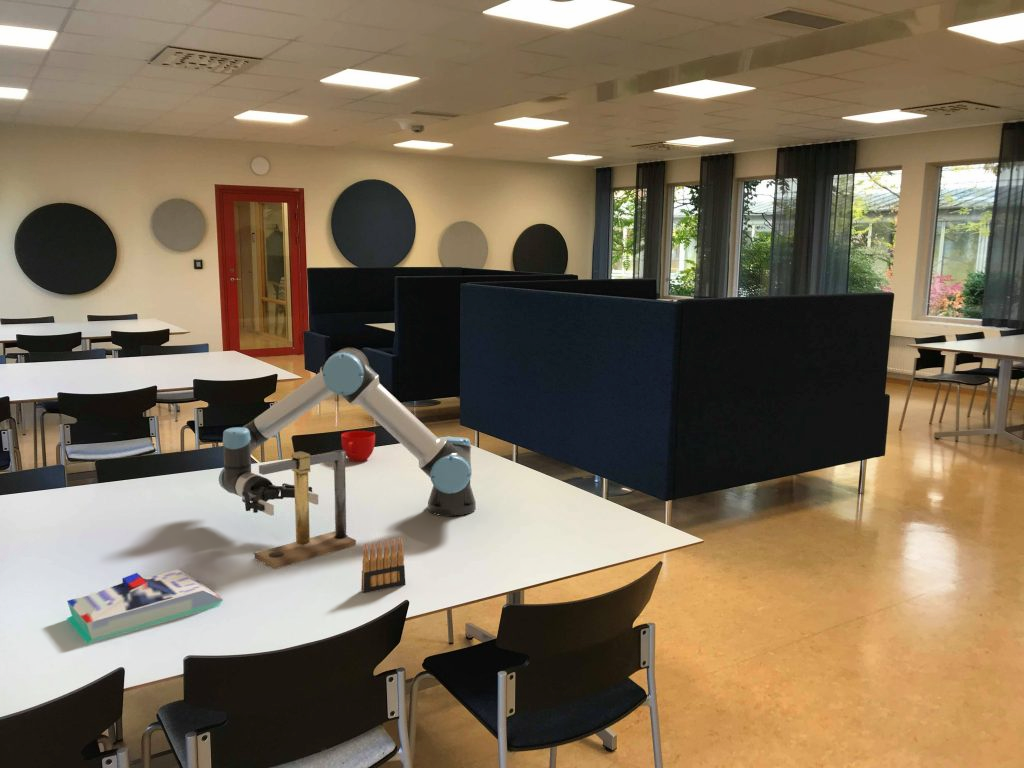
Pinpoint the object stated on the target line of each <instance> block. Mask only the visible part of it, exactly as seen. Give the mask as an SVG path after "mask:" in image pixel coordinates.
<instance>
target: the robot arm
mask: <svg viewBox="0 0 1024 768" xmlns="http://www.w3.org/2000/svg"><path fill="white" fill-rule="evenodd" d="M324 363H325V364H323V365H322V366H321V367H320V368H319V369H320V370H319V372H317V374H315V375H314V376H312V377H311V378H310V379H308V380H307V381H306V382H304V383H303V384H301V385H300V386H298V387H297V388H296V389H294V390H293V391H292V392H290V393H289V394H287V395H286V396H284V398H282V399H281V400H279V401H277V402H276V403H275V404H273V405H272V406H270V407H269V408H268V409H266V410H265V411H263V412H262V413H261V414H259V415H258V416H257V417H255V418H254V419H253V420H251V421H250V422H248V423H247V424H245V425H243V426H242V427H241V426H239V427H238V426H237V427H235V426H234V427H229V428H227V429H225V430H223V432H222V433H223V434H222V448H223V449H222V450H223V464H224V465H223V469H222V470H220V474H219V476H218V483H219V486H220V487H221V488H222V489H223V490H225V491H226V492H228V493H230V494H233V495H236V496H238V497H239V498H240V497H241V501H242V502H243V503H244V508H245V512H250V511H251V509H252V512H253V514H257V513H259V512H261V513H265V514H266V515H268V516H274V515H275V510H274V509H275V508H274V507H275V506H274V505H273V504H272V503H269V502H268V501H269V500H284V499H285V498H291V499H295V487H294V484H288V483H282V484H281V485H275V484H273V482H272V481H271V480H270V479H269V478H267V477H264V476H261V475H260V474H256V473H254V472H252V459H251V458H252V456H251V455H252V453H253V452H254V451H255V450H256V449H258V447H260V446H261V445H263V444H264V443H266V442H267V441H268V440H269V439H271V438H272V437H274V436H275V435H277V434H278V433H280V432H281V431H282V430H284V429H285V428H286V427H288V426H290V424H292V423H293V422H295V421H296V420H298V419H299V418H301V417H302V416H303V415H304V414H306V413H307V412H309V411H310V410H312V409H313V408H315V407H317V405H319V404H320V403H322V402H323V401H325V400H326V399H328V398H329V397H330V396H331V395H333V394H336V395H339V396H341V397H342V398H343V399H345V400H346V401H347V402H348V403H349V404H350V405H359V406H360V407H361V408H362V409H363V410H364V411H366V413H367V414H369V415H370V416H371V418H373V419H374V420H375V421H376V422H377V423H378V424H379V425H380V426H382V428H384V429H385V431H387V432H388V433H389V434H391V436H392V437H393V438H395V440H396V441H398V443H400V444H401V445H402V446H403V447H404V448H405V449H406V450H407V451H408V452H410V454H412V455H413V456H414V457H415V458H416V459H417V460H418V468H419V469H420V470H421V471H422V472H423V473H425V474H426V476H428V477H429V478H430V481H431V484H432V485H433V486H432V489H431V492H430V494H429V498H428V500H427V511H428V512H430V513H431V512H432V513H431V514H434V513H435V514H434V515H437V514H439V515H438V516H443V515H450V516H449V517H457V516H456V515H460V516H465V515H464V514H466V515H469V514H471V513H470V512H472V513H474V512H475V511H476V505H477V504H476V499H475V495H474V493H473V489H472V487H471V478H472V463H471V462H472V461H471V459H472V458H471V455H472V454H471V449H472V444H471V440H470V438H468V437H460V436H459V437H458V436H443V437H442V436H441V437H438V436H437V435H435V433H433V432H432V431H431V430H430V429H429V428H428V426H426V425H425V424H424V423H423V422H422V421H420V420H419V418H417V417H416V416H415V415H414V414H413V413H412V412H411V411H410V410H409V409H407V407H406V406H404V404H403V403H401V402H400V401H399V400H398V399H397V398H396V397H395V396H394V395H393V394H391V392H389V391H388V390H387V388H385V387H384V386H383V384H381V383H380V375H379V374H378V373H377V372H375V370H374V369H372V367H371V366H370V363H369V360H368V357H367V356H366V354H364V352H362V351H361V350H359V349H357V348H354V347H344V348H341V349H340V350H338V351H336V352H335V353H333V354H332V355H331V356H330V357H328V359H327V360H326V361H325V362H324ZM309 503H311V504H313V505H319V494H318V493H315V492H313V487H311V486H309ZM474 510H475V511H474ZM468 513H469V514H468ZM453 515H455V516H453Z"/></svg>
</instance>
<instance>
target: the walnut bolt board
mask: <svg viewBox="0 0 1024 768" xmlns="http://www.w3.org/2000/svg"><path fill="white" fill-rule="evenodd" d="M354 545H355V546H357V540H356V539H355V538H353V537H350V536H349V535H347V534H346V537H345V538H336V537H335V530H334V531H331V532H327V533H324V534H323V533H322V534H320V535H316V536H312V537H310V542H309V543H307V544H305V545H301V544H297V543H296V541H294V542H290V543H286V544H282V545H278V546H275V547H272V548H268V549H265V550H261V551H257V552H254V553H253V554H254V556H253V557H254V559H255V560H256V559H257V560H256V561H258V560H259V562H260V561H261V562H260V563H262V562H263V563H262V564H264V563H265V564H264V565H266V566H268V567H269V568H271V569H272V570H273V569H274V570H276V569H279V568H282V567H283V568H284V567H286V566H290V565H293V563H294V564H296V563H300V562H302V561H307V560H310V559H314V558H318V557H320V556H324V555H326V554H330V553H334V552H337V551H341V550H345V549H347V548H351V547H355V546H354Z"/></svg>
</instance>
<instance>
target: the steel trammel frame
mask: <svg viewBox="0 0 1024 768" xmlns="http://www.w3.org/2000/svg"><path fill="white" fill-rule="evenodd" d="M346 459H347V456H346V451H344V450H343V449H338V450H333V451H329V452H324V453H317V454H312V455H310V466H314V465H319V464H324V463H328V462H333V471H334V472H333V474H334V475H333V476H334V479H333V481H334V484H333V485H334V531H335V537H336V538H345V537H346V535H347V503H346V502H347V499H346V497H347V495H346V491H347V490H346V487H347V486H346ZM295 468H299V459H292V458H290V459H287V460H282V461H276V462H271V463H266V464H260V465H258V474H259V475H263V476H265V475H268V474H273V473H279V472H284V471H289V470H292V469H295Z"/></svg>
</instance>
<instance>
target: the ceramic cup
mask: <svg viewBox="0 0 1024 768" xmlns="http://www.w3.org/2000/svg"><path fill="white" fill-rule="evenodd" d="M340 437H341V438H340V439H341V447H342V450H344V451H346V458H348V459H349V460H350V462H366V461H368V459H369V458H370V457H371V456H372V454H373V451H374V449H375V444H376V434H375V432H373V431H368V430H353V431H352V430H351V431H347V432H343V433H341V435H340ZM365 460H366V461H365Z"/></svg>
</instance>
